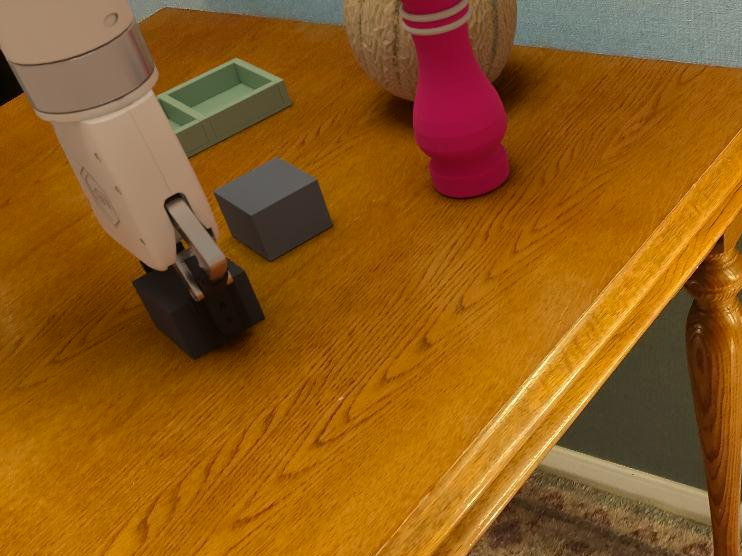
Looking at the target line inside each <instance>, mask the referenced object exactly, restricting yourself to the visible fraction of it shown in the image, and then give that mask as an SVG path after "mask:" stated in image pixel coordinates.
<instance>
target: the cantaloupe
mask: <svg viewBox="0 0 742 556" xmlns="http://www.w3.org/2000/svg"><path fill="white" fill-rule="evenodd" d="M468 3H469V6H470V8H471V10H472V14H471V17H470V18H469V20H468V21H467V22H468V31H469V38H470V42H471V46H472V50H473V54H474V56H475V58H476V60H477V62H478V65H479V66H480V68H481V70H482V71H483V73H484V74H485V76H486V77H487V79H488V80H489V81H490V83H491V84H492V83H494V82H495V80H497V78H499V76H500V75H501V73H502V71H503V69H504V68H505V66H506V64H507V62H508V60H509V57H510V55H511V52H512V48H513V44H514V41H515V36H516V30H517V22H518V4H517V0H469V2H468ZM401 4H402V2H401V1H400V0H342V18H343V23H344V27H345V33H346V36H347V39H348V42H349V45H350V48H351V52H352V54H353V55H354V58H355V59H356V61H357V63H358V65H359V66H360V67H361V69H362V70H363V72H364V74H366V75H367V76H368V77H369V78H370V79H371V80H372V81H373V82H375V83H376V84H377V85H378V86H380V88H382V89H383V90H385V91H386V92H389V93H390V94H391V95H393V96H396V97H398V98H401V99H402V100H406V101H409V102H410V101H411V102H413V103H414V102H415V96H416V90H417V84H418V59H417V53H416V48H415V44H414V41H413V38H412V36H411V33H408V32H407V31H406V30H405V29H404V28H403V26H402V22H403V19H402V17H401V15H400V13H399V8H400V5H401Z"/></svg>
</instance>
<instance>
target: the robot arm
mask: <svg viewBox="0 0 742 556" xmlns="http://www.w3.org/2000/svg"><path fill="white" fill-rule="evenodd" d="M0 50H1V52H2V53H3V55H4V57H5V60H6V62H7V64H8V66H9V67H10V69H11V71H12V73H13V75H14V76H15V78H16V80H17V82H18V83H19V86H20V87H21V89H22V91H23V93H24V95H25V96H26V99H27V100H28V102H29V104H30V105H31V107H32V109H33V111H34V112H35V114H36V116H37V117H38V118H39V119H40V120H42V121H45V122H48V123H50V124H51V126H52V129H53V131H54V133H55V136H56V138H57V140H58V143H59V144H60V146H61V148H62V150H63V153H64V155H65V157H66V158H67V161H68V163H69V165H70V167H71V169H72V171H73V173H74V175H75V177H76V179H77V181H78V184H79V185H80V188H81V190H82V192H83V193H84V196H85V198H86V200H87V202H88V204H89V206H90V208H91V210H92V212H93V214H94V216H95V219H96V220H97V221H98V223H99V225H100V227H101V228H102V229H103V231H104V232H105V233H106V234H108V236H110V237H111V238H112V239H113V240H114V241H115V242H117V243H118V244H119V245H120V246H122V247H123V248H124V249H126V251H128V252H129V253H130V254H131V255H133V256H134V257H136V258H137V259H138V260H139V263H140V265H141V267H142V269H143V271H144V274H146V273H148V272H150V271H152V270H154V269H156V270H159V271H165V270H167V269H168V266H170V265H173V267H174V269H175V270H176V272H177V273H178V275H179V277H180V278H181V280H182V281H183V283H184V285H185V286H186V288H187V289H188V291H189V293H190V294H191V297H189V298H188V301H189V303H190V305H191V307H192V309H193V311H194V313H195V315H196V317H197V319H198V321H199V323H200V325H201V327H202V329H203V331H204V333H205V335H206V337H207V339H208V341H209V343H210V344H211V345H212V346H214V348H219V347H221V346H223V345H224V344H226V343H228V342H229V341H231V340H232V339H234V338H236V337H238V336H239V335H241V334H243V333H244V332H246V331H247V330H250V328H251V327H252V325H251V324H252V323H251V320H250V318H249V316H248V313H247V311H246V309H245V307H244V305H243V302H242V300H241V298H240V296H239V293H238V291H237V289H236V287H235V285H234V282H233V278H232V276H231V274H230V273H229V271H228V270H229V269H228V267H227V259H226V257H227V256H226V255H225V253H224V252H223V251H222V249H221V248H220V247H219V246H218V244H217V242H218V240H219V237H220V229H219V225H218V223H217V221H216V218H215V216H214V215H215V214H214V212H213V210H212V208H211V205H210V203H209V201H208V198H207V196H206V194H205V192H204V189H203V187H202V185H201V183H200V180H199V179H198V177H197V175H196V173H195V170H194V167H193V166H192V164H191V161H190V160H189V158H187V156H186V154H185V152H184V150H183V148H182V146H181V144H180V142H179V140H178V138H177V136H176V134H175V132H174V130H173V128H172V126H171V123H170V121H169V120H168V119H167V117H166V115H165V113H164V111H163V109H162V107H161V105H160V104H159V102H158V100H157V98H156V96H157V95H156V94H155V92H154V91H153V88H154V87H155V85H156V84H157V83H158V81H159V76H160V74H159V70H158V68H157V66H156V63H155V62H154V59H153V56H152V54H151V52H150V50H149V47H148V45H147V43H146V41H145V37H144V36H143V34H142V31H141V28H140V26H139V23H138V22H137V20H136V17H135V15H134V13H133V11H132V9H131V6H130V5H129V2H128V0H0ZM182 241H184V243H186V245H187V247H186V248H185V246H184V243H183V242H182ZM194 256H196V257H197V259H198V261H199V266H200V267H201V268H200V269H198V270H196V274H195V279H194V277H193V275H192V274H191V272H190V270H189V269H188V267H187V266H186V264H185V261H187V260H189V259H191V258H193V257H194Z"/></svg>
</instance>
